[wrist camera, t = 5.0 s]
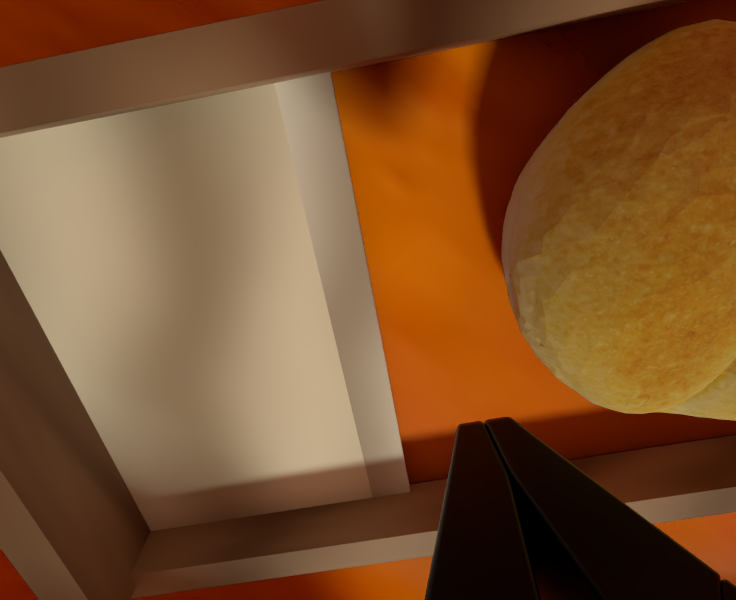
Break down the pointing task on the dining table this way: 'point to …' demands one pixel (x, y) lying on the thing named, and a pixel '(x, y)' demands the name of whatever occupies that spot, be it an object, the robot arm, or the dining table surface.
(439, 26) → the brown open frame
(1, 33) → the dining table surface
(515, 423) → the robot arm
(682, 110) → the bread roll
